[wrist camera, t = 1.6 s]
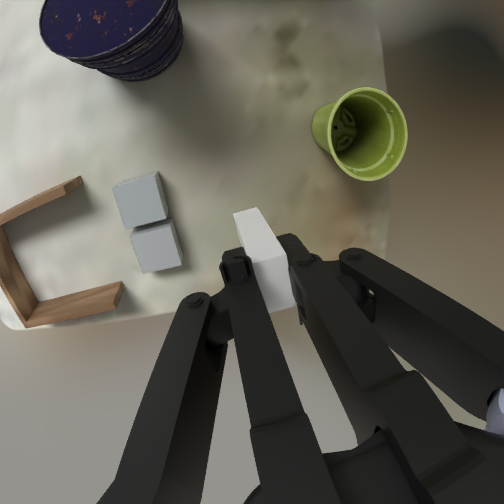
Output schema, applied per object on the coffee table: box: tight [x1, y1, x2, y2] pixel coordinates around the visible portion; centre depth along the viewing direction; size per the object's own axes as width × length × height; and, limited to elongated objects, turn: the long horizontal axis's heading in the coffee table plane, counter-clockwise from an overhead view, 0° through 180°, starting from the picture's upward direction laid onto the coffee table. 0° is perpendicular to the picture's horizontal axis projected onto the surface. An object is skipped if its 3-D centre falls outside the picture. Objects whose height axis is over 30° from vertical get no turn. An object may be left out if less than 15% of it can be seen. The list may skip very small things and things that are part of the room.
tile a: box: [112, 171, 169, 229], centre depth 31 cm, size 5×5×3 cm
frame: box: [0, 176, 124, 328], centre depth 30 cm, size 16×17×5 cm
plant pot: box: [312, 87, 408, 181], centre depth 28 cm, size 9×9×9 cm
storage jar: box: [39, 0, 183, 82], centre depth 17 cm, size 10×10×15 cm
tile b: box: [129, 219, 183, 274], centre depth 34 cm, size 5×5×3 cm
